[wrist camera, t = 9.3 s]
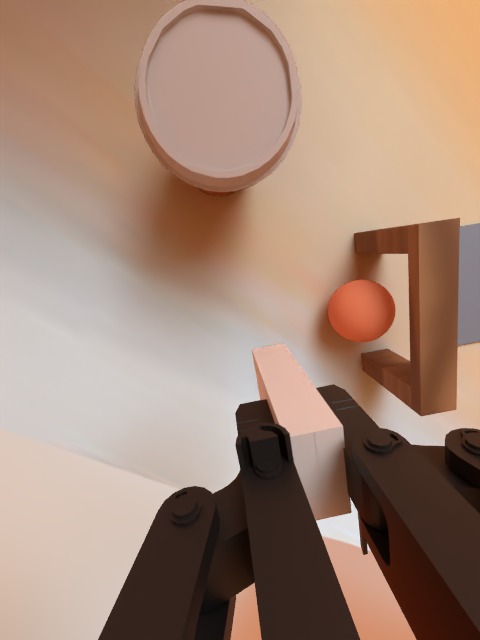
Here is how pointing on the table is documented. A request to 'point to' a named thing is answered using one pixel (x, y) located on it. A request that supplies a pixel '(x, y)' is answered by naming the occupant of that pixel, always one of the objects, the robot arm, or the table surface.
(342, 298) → the ball
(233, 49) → the disposable coffee cup
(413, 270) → the bridge
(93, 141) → the table surface
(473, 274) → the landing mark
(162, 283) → the table surface
